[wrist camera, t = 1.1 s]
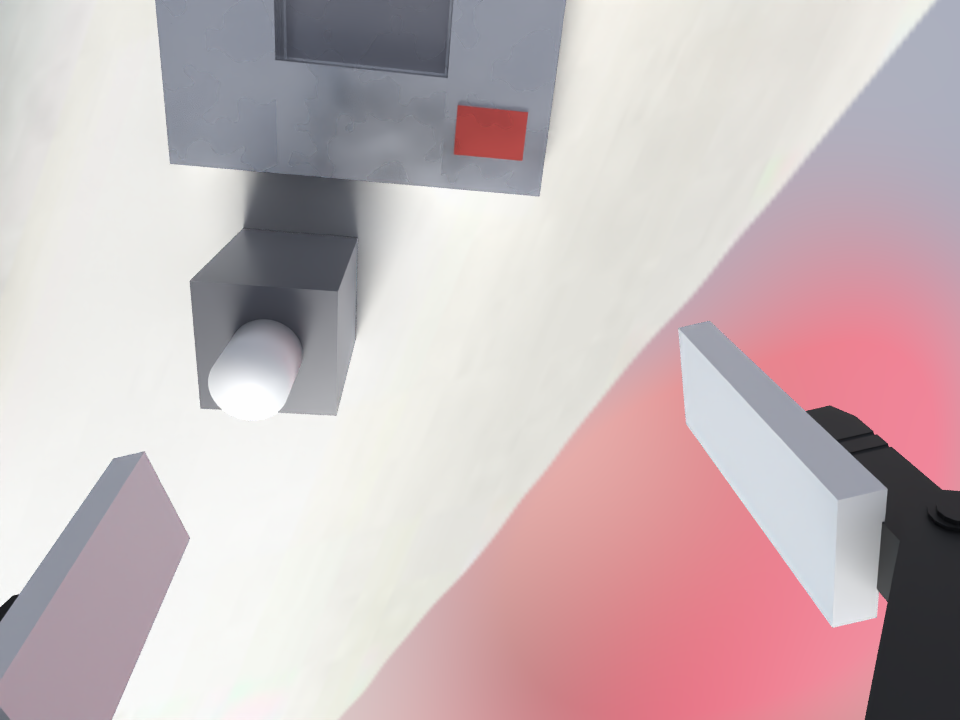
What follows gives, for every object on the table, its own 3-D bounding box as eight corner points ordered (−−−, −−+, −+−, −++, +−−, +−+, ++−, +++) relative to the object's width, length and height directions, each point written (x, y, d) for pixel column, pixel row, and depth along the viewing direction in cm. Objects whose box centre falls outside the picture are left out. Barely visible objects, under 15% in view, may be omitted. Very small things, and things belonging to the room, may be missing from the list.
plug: (248, 332, 35) (175, 448, 25) (243, 228, 32) (160, 309, 23) (355, 339, 35) (326, 454, 25) (357, 237, 33) (327, 320, 23)
